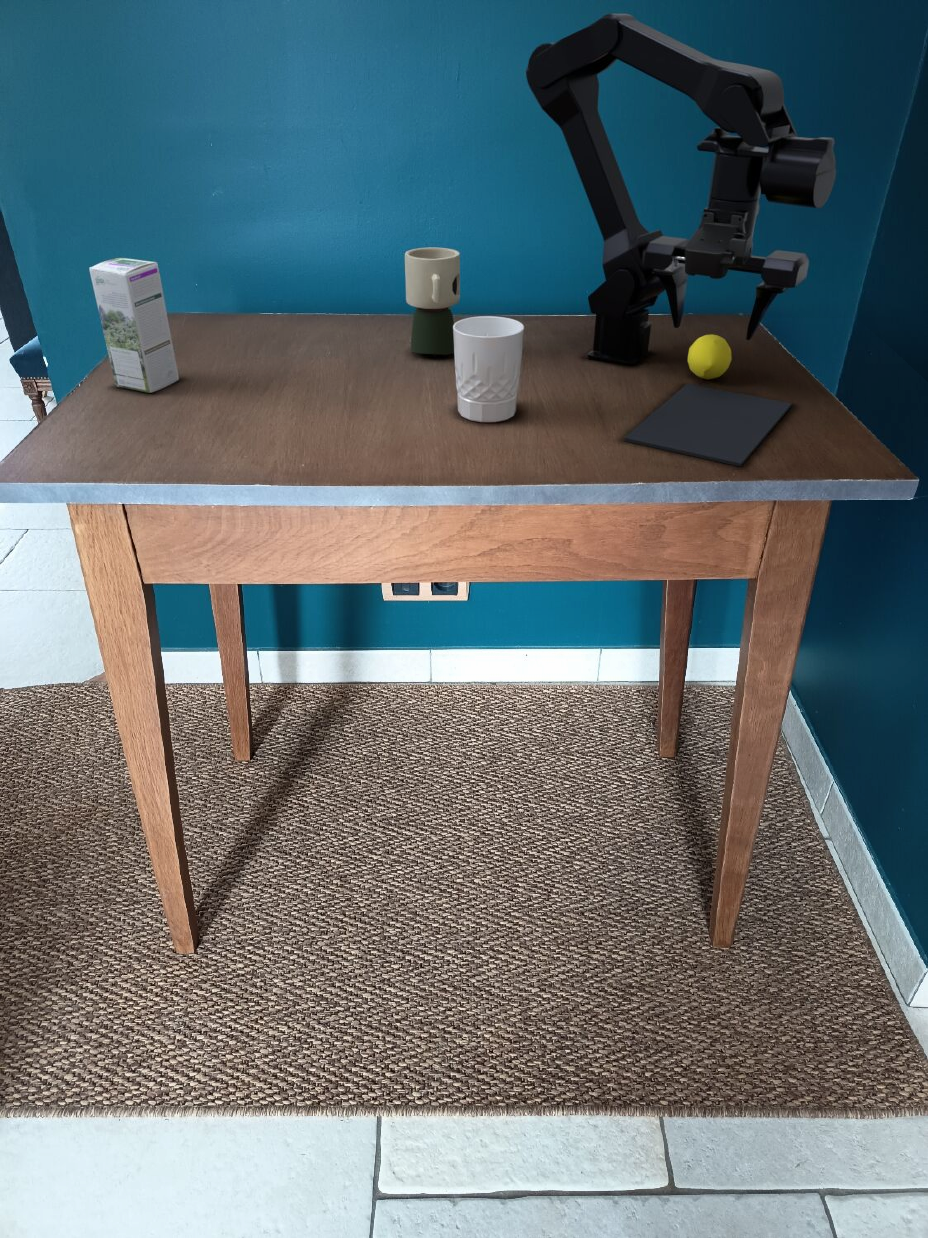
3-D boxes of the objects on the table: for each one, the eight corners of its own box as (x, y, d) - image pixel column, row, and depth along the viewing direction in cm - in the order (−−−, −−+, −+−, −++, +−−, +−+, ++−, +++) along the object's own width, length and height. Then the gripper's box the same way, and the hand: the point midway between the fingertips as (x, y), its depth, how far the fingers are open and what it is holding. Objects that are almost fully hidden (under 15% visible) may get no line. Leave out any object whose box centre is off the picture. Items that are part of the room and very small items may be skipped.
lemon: (729, 388, 114) (737, 344, 111) (685, 385, 115) (691, 342, 112) (725, 369, 120) (732, 327, 117) (683, 367, 121) (689, 325, 118)
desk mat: (623, 440, 101) (624, 437, 100) (686, 386, 115) (687, 383, 115) (740, 466, 95) (741, 463, 95) (791, 406, 109) (792, 403, 109)
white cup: (473, 429, 103) (473, 340, 98) (441, 406, 109) (440, 321, 103) (533, 417, 106) (537, 330, 101) (499, 395, 112) (502, 312, 106)
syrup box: (181, 379, 116) (160, 259, 108) (149, 395, 112) (125, 271, 104) (145, 373, 118) (122, 255, 110) (113, 388, 114) (86, 265, 106)
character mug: (465, 364, 121) (465, 261, 114) (411, 367, 121) (408, 263, 113) (454, 339, 130) (454, 242, 123) (404, 341, 130) (401, 244, 122)
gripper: (630, 199, 104) (617, 337, 113) (797, 217, 96) (768, 364, 105) (666, 185, 112) (650, 315, 121) (822, 201, 104) (794, 338, 113)
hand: (712, 333), depth 115 cm, fingers open, 9 cm apart
